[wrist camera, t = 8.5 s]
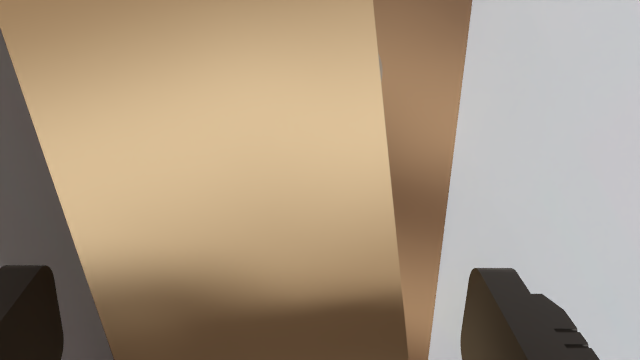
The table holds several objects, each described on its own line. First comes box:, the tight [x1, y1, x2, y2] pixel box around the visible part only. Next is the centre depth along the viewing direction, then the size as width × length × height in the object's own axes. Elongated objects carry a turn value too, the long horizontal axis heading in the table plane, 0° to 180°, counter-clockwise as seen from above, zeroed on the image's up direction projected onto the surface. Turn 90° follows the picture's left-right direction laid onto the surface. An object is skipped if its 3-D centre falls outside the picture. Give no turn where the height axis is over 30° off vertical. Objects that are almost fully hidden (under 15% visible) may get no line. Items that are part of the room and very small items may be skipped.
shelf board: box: [0, 0, 409, 360], centre depth 12 cm, size 14×5×4 cm, turn 8°
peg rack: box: [373, 0, 472, 360], centre depth 13 cm, size 20×10×10 cm, turn 178°
